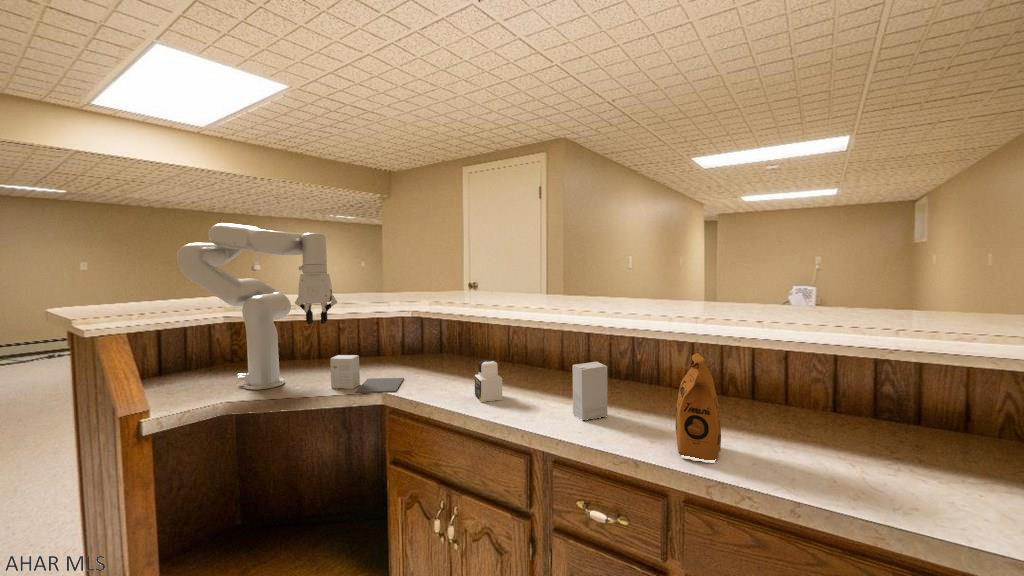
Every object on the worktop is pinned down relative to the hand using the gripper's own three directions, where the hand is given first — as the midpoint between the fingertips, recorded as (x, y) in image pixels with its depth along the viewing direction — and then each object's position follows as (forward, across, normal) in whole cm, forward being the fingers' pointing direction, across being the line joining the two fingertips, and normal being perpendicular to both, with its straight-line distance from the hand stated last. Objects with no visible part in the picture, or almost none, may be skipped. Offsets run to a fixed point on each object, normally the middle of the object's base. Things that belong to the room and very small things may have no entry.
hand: (316, 322), depth 159 cm
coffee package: (+22, +105, -61) cm, 123 cm away
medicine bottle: (+22, +58, -17) cm, 64 cm away
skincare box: (+22, +86, -36) cm, 96 cm away
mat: (+22, +21, 0) cm, 31 cm away
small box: (+23, +9, 0) cm, 24 cm away
